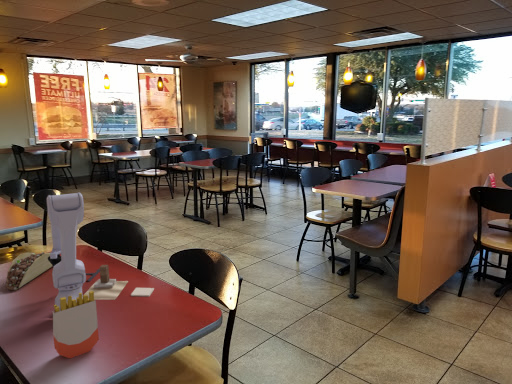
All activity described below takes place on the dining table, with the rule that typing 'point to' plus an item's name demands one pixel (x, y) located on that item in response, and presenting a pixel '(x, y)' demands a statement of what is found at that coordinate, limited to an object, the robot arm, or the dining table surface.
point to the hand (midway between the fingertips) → (64, 270)
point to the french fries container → (75, 325)
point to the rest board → (107, 291)
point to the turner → (104, 278)
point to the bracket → (92, 275)
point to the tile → (142, 292)
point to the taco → (26, 269)
